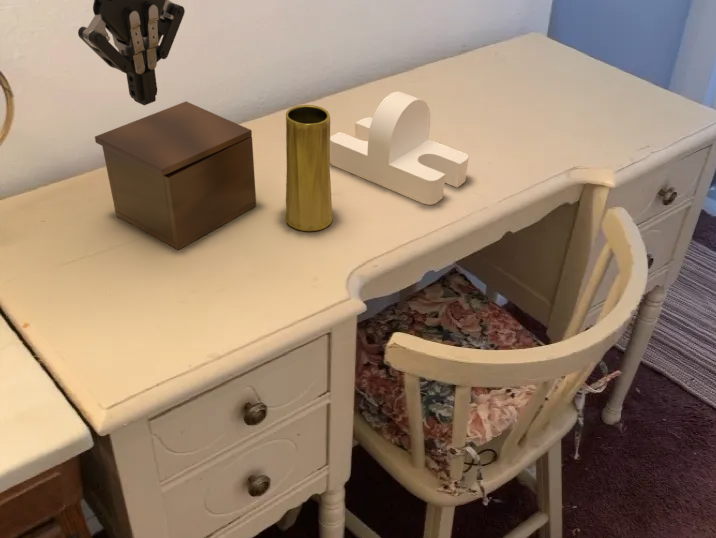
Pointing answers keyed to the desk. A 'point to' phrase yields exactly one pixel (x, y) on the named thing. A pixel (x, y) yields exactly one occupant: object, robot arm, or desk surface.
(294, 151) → the vase
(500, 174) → the desk surface
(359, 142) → the u-slot stand
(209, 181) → the chest
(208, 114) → the lid
